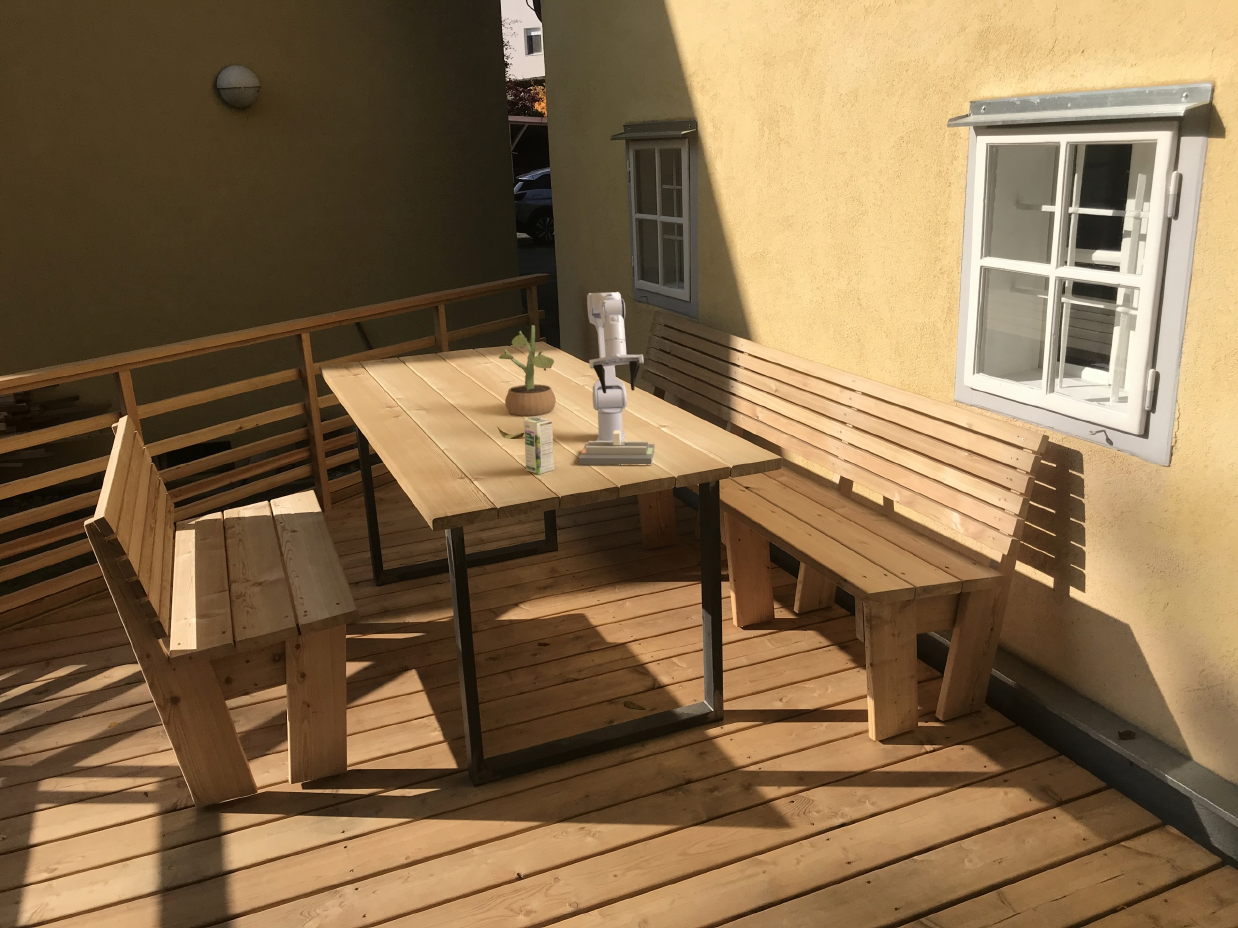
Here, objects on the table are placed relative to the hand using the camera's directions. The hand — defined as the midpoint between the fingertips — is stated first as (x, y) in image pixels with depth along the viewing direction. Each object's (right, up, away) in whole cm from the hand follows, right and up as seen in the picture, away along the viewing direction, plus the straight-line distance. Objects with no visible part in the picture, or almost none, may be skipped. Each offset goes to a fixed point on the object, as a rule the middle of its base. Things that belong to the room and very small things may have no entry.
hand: (618, 391), depth 264 cm
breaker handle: (0, -16, +13) cm, 21 cm away
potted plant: (-29, -3, +66) cm, 72 cm away
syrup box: (-21, -22, +4) cm, 31 cm away
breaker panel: (0, -18, +14) cm, 23 cm away
